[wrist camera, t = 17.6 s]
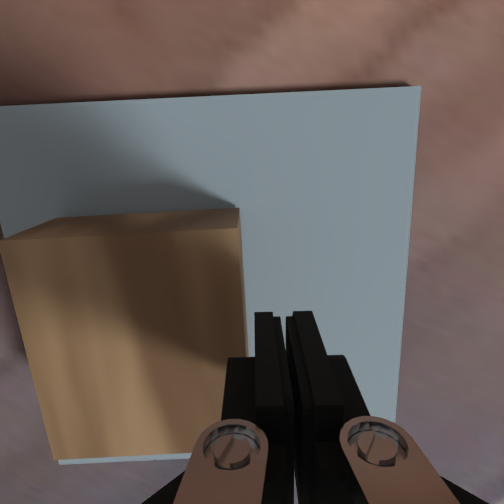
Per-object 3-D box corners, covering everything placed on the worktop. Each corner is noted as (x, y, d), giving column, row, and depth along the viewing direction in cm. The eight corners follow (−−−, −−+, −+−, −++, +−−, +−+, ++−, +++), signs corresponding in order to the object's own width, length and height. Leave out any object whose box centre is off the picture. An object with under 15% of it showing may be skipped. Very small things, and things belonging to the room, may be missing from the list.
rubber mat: (414, 87, 14) (421, 86, 13) (389, 440, 18) (393, 448, 18) (-19, 108, 14) (-28, 107, 13) (64, 456, 18) (59, 464, 18)
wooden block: (237, 228, 11) (-3, 241, 11) (252, 449, 13) (53, 460, 13) (239, 206, 14) (58, 216, 14) (250, 383, 17) (95, 392, 17)
